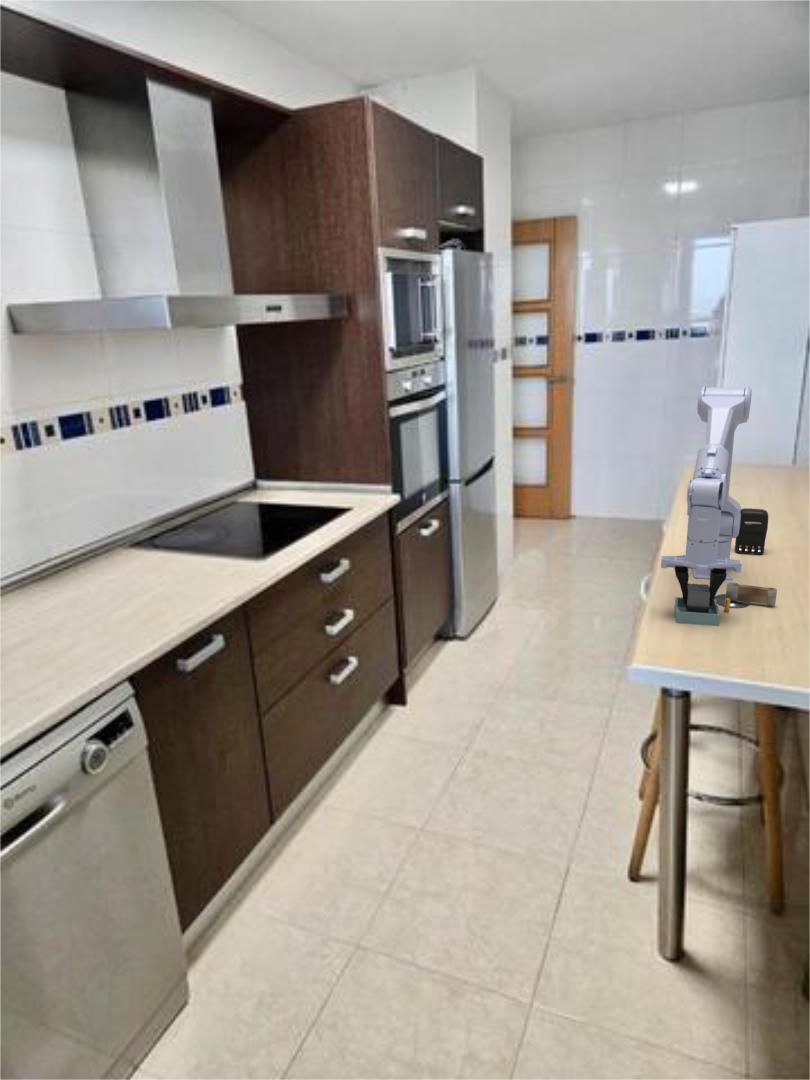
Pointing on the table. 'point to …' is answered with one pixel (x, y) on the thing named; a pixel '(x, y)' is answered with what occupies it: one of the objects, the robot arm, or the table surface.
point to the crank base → (729, 603)
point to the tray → (696, 614)
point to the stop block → (698, 598)
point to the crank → (751, 593)
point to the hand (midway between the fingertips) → (697, 602)
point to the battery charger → (752, 531)
